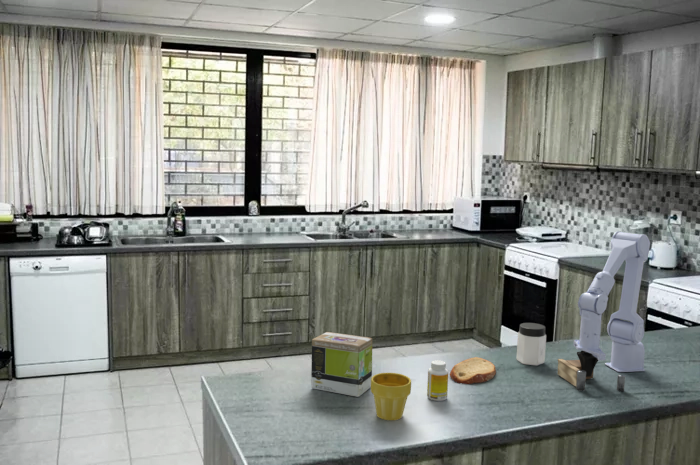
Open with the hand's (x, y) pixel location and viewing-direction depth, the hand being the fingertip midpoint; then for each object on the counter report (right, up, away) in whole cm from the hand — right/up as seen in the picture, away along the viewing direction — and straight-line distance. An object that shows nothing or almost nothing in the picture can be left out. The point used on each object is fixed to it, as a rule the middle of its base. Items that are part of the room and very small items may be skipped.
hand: (587, 376), depth 199 cm
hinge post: (-5, -2, -8) cm, 9 cm away
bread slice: (-34, -1, +5) cm, 34 cm away
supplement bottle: (-48, -3, -17) cm, 51 cm away
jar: (-12, +1, +17) cm, 21 cm away
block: (-1, -1, +4) cm, 5 cm away
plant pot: (-62, -4, -30) cm, 68 cm away
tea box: (-74, -1, -11) cm, 75 cm away
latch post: (+7, -3, -8) cm, 11 cm away
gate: (-6, -1, -1) cm, 6 cm away
